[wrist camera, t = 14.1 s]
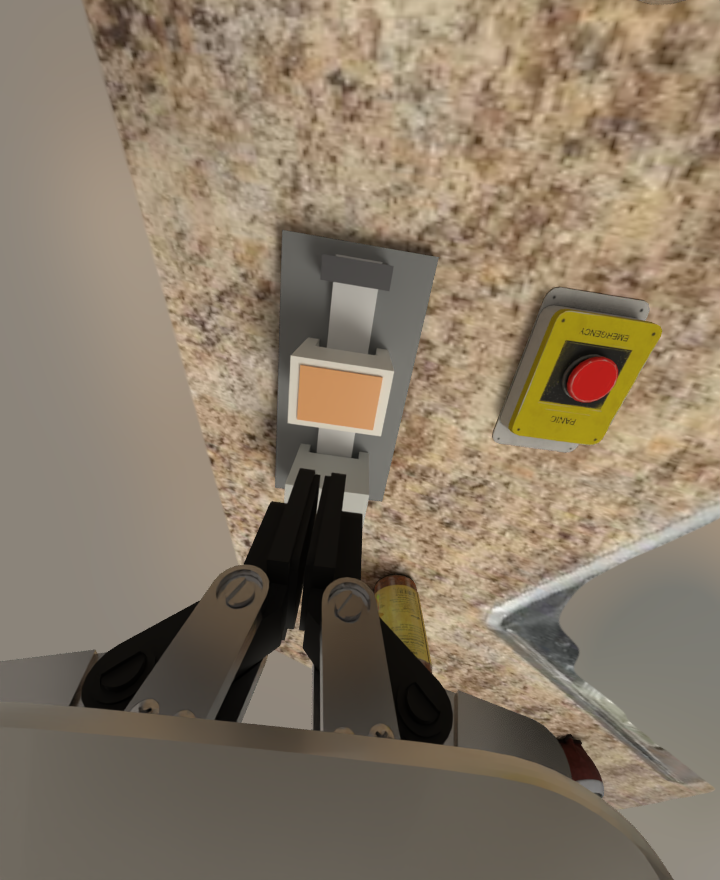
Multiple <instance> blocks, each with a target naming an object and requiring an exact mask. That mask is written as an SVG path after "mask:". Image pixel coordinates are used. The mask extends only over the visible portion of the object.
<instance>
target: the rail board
mask: <svg viewBox="0 0 720 880" xmlns="http://www.w3.org/2000/svg"><path fill="white" fill-rule="evenodd" d="M438 258H439V257H434V256H428V255H422V254H417V253H411V252H405V251H400V250H394V249H388V248H383V247H377V246H371V245H365V244H360V243H354V242H348V241H343V240H337V239H331V238H325V237H320V236H314V235H308V234H303V233H297V232H291V231H286V230H282V258H281V294H280V330H279V366H278V402H277V438H276V474H275V488H283V489H285V498H284V503H287V502H288V499H289V497H290V494H291V491H292V488H293V486H294V483H295V480H296V477H297V474H298V472H299V469H300V468H305V469H312V470H315V474H318V475H321V476H320V486H319V495H318V504H317V510H318V505H319V501H320V496H321V492H322V487H323V483H324V478H325V475H326V476H331V473H332V472H333V473H340V474H346V482H345V491H344V499H343V508H342V511H346V512H354V513H361V514H363V523H364V519H365V514H366V509H367V504H368V500H374V501H381V502H382V500H383V495H384V491H385V487H386V482H387V478H388V474H389V470H390V465H391V461H392V457H393V452H394V448H395V444H396V439H397V435H398V431H399V426H400V422H401V418H402V413H403V409H404V405H405V400H406V396H407V392H408V388H409V383H410V379H411V375H412V370H413V366H414V362H415V357H416V353H417V349H418V344H419V340H420V336H421V331H422V327H423V323H424V318H425V314H426V310H427V305H428V301H429V297H430V293H431V288H432V284H433V280H434V275H435V271H436V267H437V262H438ZM308 337H310V338H316V339H320V341H319V347H325V348H331V349H337V350H344V351H350V352H357V353H363V354H370V355H376V349H377V348H380V349H386V350H388V352H389V355H390V359H391V362H392V365H393V369H394V375H393V380H392V385H391V390H390V395H389V400H388V405H387V409H386V414H385V419H384V424H383V429H382V434H381V436H374V435H367V434H360V433H353V432H346V431H339V430H332V429H325V428H318V427H311V426H304V425H297V424H290V423H288V404H289V382H290V360H291V355H292V354H293V353H294V352H295V350H296V349H297V348H298V347H299V346H300V345H301V344H302V343H303V342H304V341H305V340H306V339H307V338H308ZM362 528H363V525H362Z"/></svg>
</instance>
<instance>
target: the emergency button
mask: <svg viewBox="0 0 720 880" xmlns="http://www.w3.org/2000/svg"><path fill="white" fill-rule="evenodd" d="M649 310H650V309H649V304H648V303H646V302H645V301H641V300H635V299H629V298H622V297H616V296H610V295H604V294H598V293H592V292H586V291H579V290H573V289H567V288H561V287H559V288H553V289H552V290H551V291H550V292H548V293H547V295H546V296H545V298H544V300H543V302H542V305H541V308H540V310H539V313H538V315H537V318H536V321H535V323H534V326H533V329H532V331H531V334H530V336H529V339H528V342H527V344H526V347H525V350H524V352H523V355H522V357H521V360H520V363H519V365H518V368H517V371H516V373H515V376H514V378H513V381H512V384H511V386H510V389H509V392H508V394H507V397H506V400H505V402H504V405H503V407H502V410H501V413H500V415H499V418H498V421H497V423H496V426H495V428H494V431H493V436H492V437H493V439H494V441H495V442H497V443H499V444H507V445H514V446H521V447H529V448H536V449H543V450H551V451H558V452H565V453H566V452H571V451H573V450H575V449H576V448H577V446H578V445H579V444H583V445H595V444H597V443H599V442H600V441H601V440H602V439H603V437H604V435H605V433H606V432H607V430H608V428H609V426H610V425H611V423H612V421H613V419H614V418H615V416H616V414H617V412H618V410H619V409H620V407H621V405H622V403H623V402H624V400H625V398H626V396H627V395H628V393H629V391H630V389H631V388H632V386H633V384H634V382H635V381H636V379H637V377H638V375H639V374H640V372H641V370H642V368H643V367H644V365H645V363H646V361H647V360H648V358H649V356H650V354H651V353H652V351H653V349H654V347H655V345H656V344H657V342H658V340H659V338H660V337H661V333H662V329H661V326H659V325H657V324H654V323H652V322H648V321H645V320H646V318H647V316H648V313H649Z"/></svg>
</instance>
